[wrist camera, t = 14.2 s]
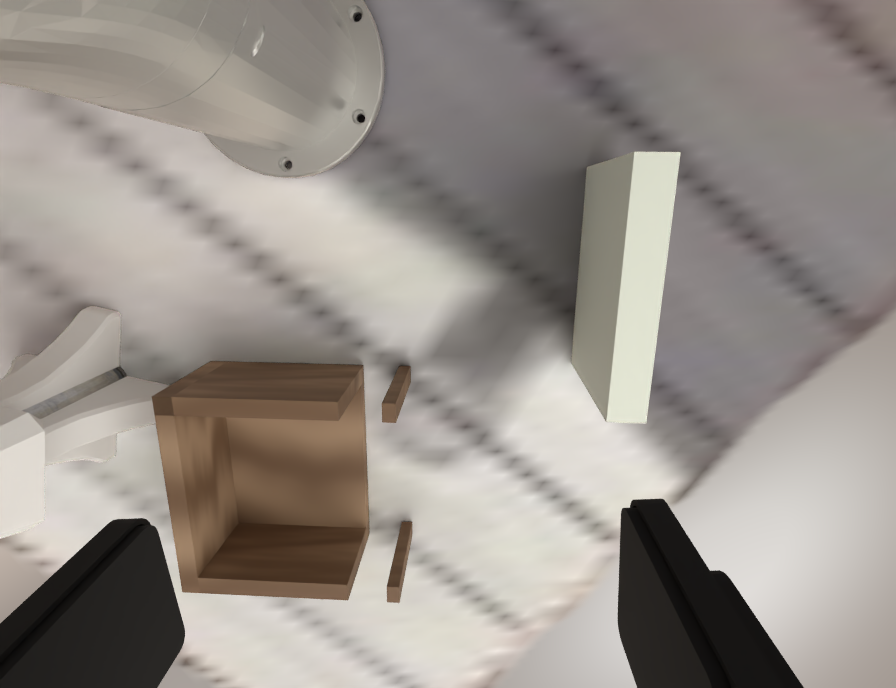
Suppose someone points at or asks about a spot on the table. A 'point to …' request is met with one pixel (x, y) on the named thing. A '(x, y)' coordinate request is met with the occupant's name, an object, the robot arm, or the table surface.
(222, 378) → the box
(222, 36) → the robot arm
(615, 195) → the cover plate
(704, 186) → the table surface
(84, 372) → the toy gun turret
